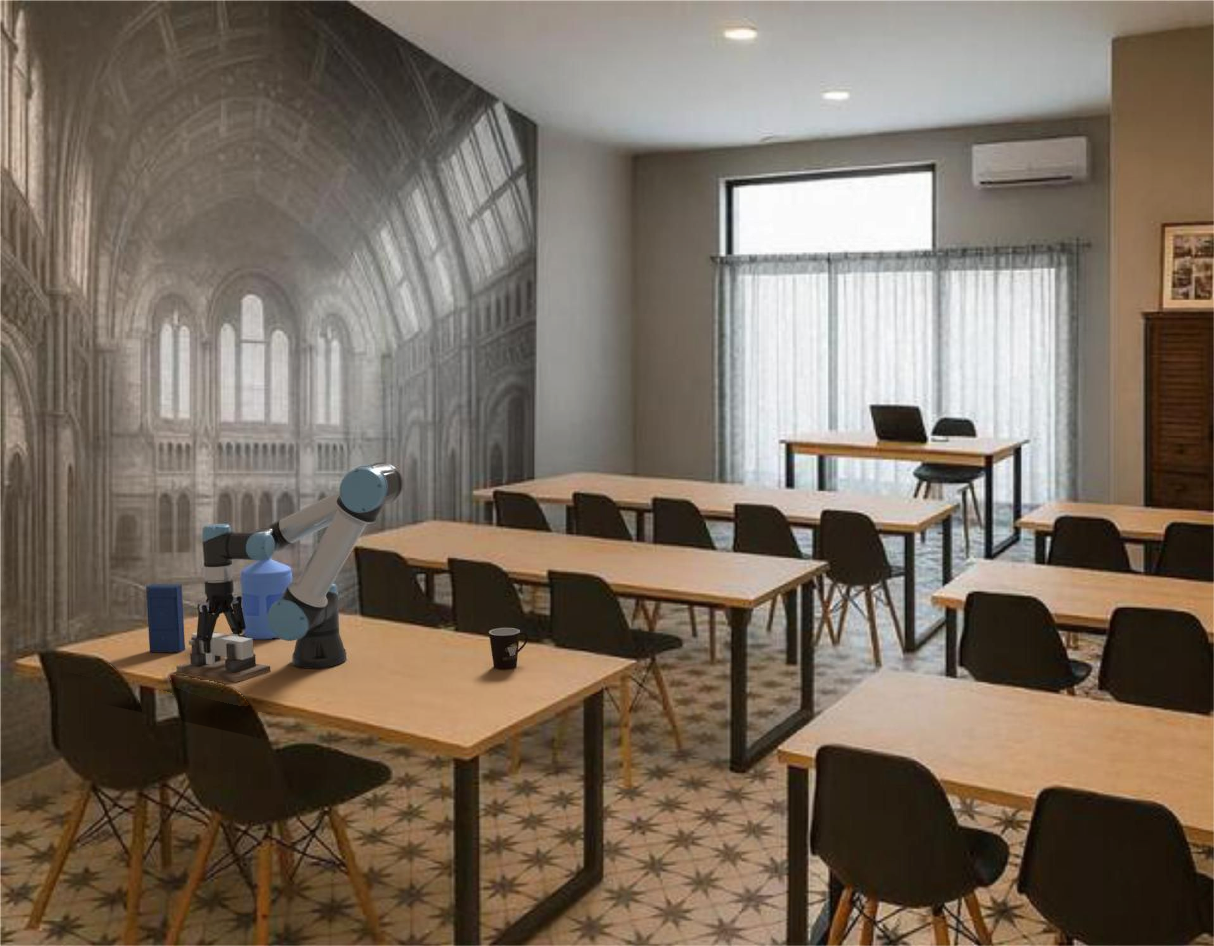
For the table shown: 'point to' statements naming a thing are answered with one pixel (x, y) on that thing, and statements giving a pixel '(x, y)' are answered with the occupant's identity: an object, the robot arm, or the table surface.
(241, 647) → the white slab
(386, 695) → the table surface
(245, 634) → the water jug
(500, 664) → the coffee mug
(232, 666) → the cable cradle
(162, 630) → the electronic device
